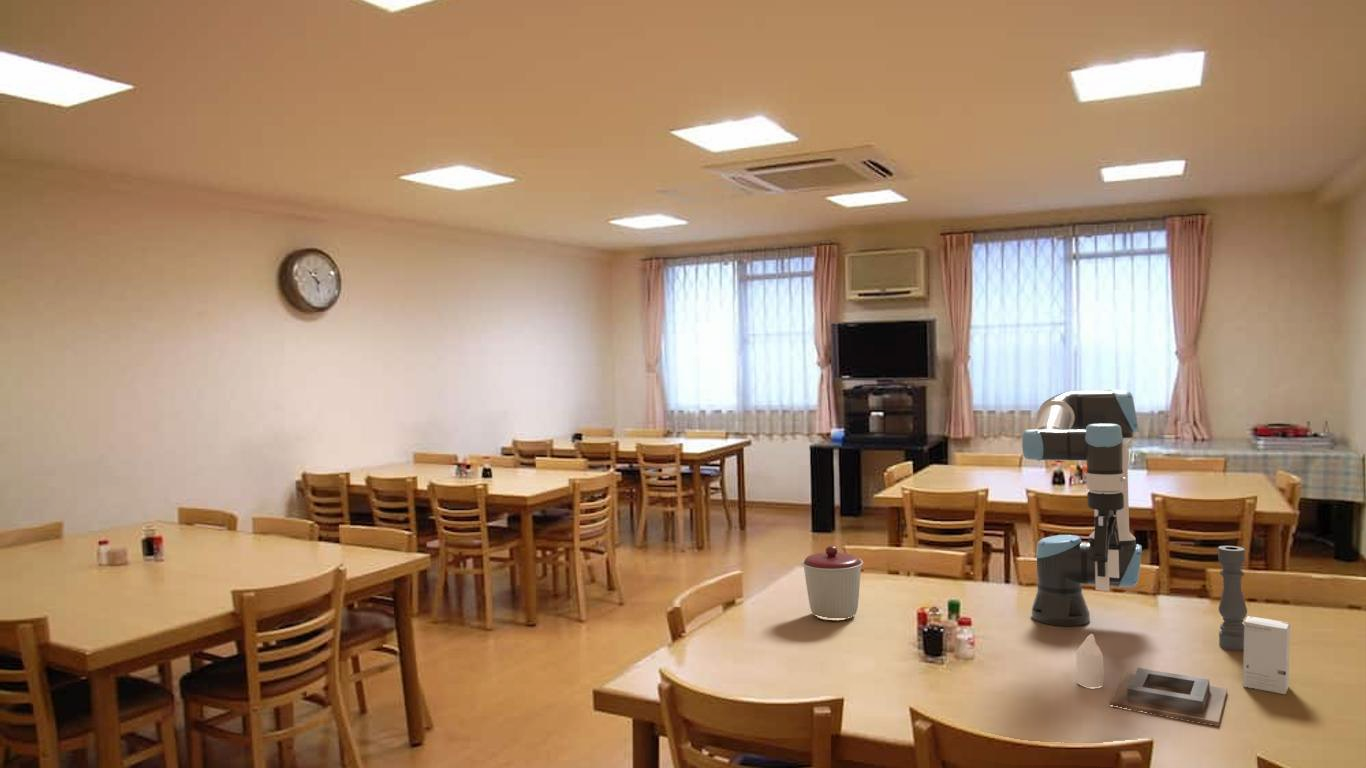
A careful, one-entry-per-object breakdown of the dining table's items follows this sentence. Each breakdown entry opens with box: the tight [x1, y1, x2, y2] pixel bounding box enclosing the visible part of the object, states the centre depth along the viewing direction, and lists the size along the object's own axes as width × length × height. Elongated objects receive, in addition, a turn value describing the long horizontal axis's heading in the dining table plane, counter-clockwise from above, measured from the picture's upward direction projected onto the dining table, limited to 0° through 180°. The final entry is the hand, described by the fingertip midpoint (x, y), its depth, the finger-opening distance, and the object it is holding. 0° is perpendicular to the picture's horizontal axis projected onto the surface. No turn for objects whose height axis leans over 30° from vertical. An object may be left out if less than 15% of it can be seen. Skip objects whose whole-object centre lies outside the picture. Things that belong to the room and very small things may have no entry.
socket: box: [1109, 667, 1228, 727], centre depth 189 cm, size 20×20×4 cm
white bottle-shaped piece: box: [1075, 633, 1104, 687], centre depth 199 cm, size 6×12×6 cm
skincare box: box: [1242, 615, 1291, 695], centre depth 193 cm, size 8×6×15 cm
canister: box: [800, 545, 864, 618], centre depth 258 cm, size 18×18×21 cm
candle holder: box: [1217, 545, 1248, 652], centre depth 218 cm, size 6×6×25 cm
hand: (1107, 583), depth 199 cm, fingers open, 13 cm apart
